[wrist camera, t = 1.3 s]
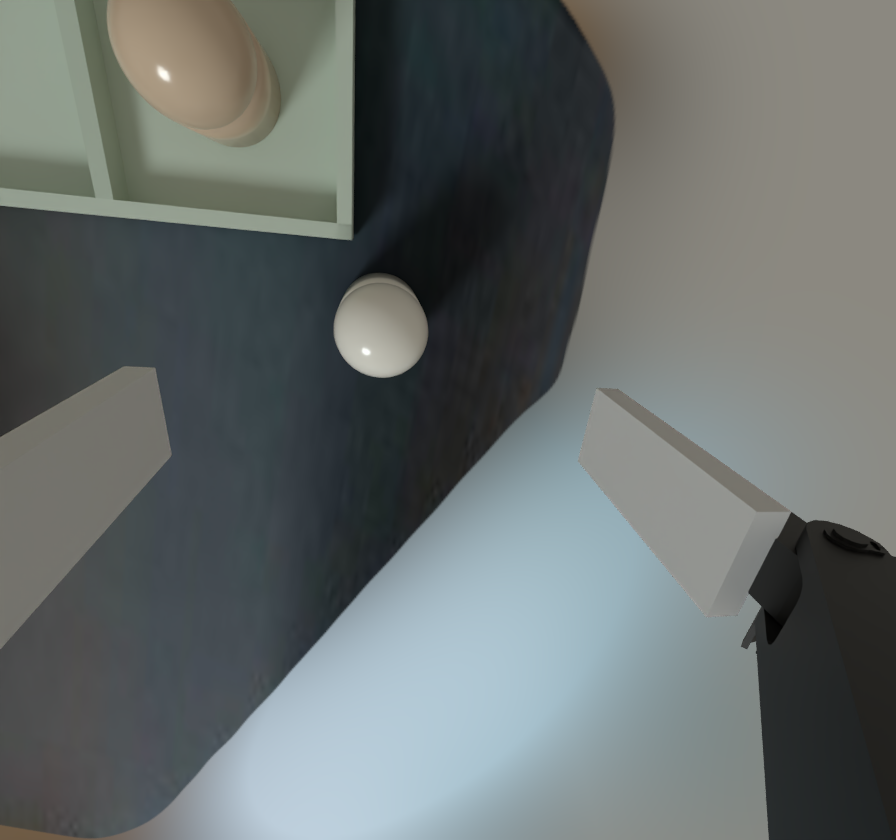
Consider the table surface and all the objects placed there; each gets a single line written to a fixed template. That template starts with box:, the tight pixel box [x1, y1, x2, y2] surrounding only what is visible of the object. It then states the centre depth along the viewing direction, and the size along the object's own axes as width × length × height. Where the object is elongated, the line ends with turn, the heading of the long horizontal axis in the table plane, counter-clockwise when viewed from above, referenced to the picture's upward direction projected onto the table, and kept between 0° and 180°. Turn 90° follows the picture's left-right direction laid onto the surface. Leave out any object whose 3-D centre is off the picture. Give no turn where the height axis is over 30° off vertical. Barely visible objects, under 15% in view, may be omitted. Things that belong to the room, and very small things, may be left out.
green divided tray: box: [0, 0, 355, 240], centre depth 20 cm, size 24×13×2 cm, turn 84°
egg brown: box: [107, 0, 281, 148], centre depth 18 cm, size 5×5×8 cm
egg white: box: [334, 273, 428, 378], centre depth 25 cm, size 5×5×8 cm
